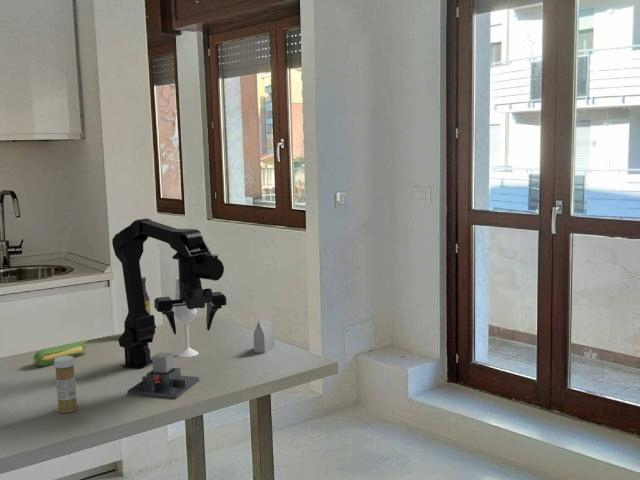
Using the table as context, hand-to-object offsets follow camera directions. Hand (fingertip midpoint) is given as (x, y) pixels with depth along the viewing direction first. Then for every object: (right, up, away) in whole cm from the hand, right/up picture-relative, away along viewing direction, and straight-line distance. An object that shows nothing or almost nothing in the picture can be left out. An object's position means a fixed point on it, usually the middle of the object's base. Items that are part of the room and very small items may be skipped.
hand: (191, 332), depth 195 cm
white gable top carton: (+18, -9, +29) cm, 35 cm away
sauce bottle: (-26, -7, +48) cm, 55 cm away
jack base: (-7, -14, -4) cm, 16 cm away
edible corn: (-43, -12, +22) cm, 50 cm away
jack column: (-7, -13, -4) cm, 15 cm away
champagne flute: (-6, -10, +26) cm, 28 cm away
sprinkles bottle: (-27, -17, -19) cm, 37 cm away
